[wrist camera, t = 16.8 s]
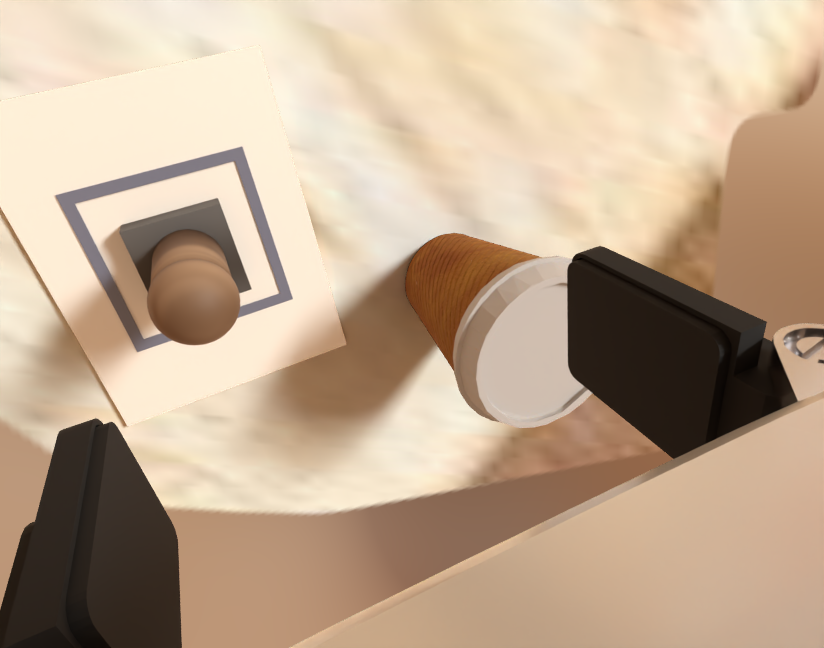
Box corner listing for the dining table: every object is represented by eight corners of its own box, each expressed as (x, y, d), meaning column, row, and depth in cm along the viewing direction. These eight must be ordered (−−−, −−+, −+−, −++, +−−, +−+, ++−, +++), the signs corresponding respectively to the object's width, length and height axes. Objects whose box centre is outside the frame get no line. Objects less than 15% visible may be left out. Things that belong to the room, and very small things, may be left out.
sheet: (-53, 112, 24) (-56, 112, 23) (258, 45, 27) (260, 44, 27) (128, 423, 33) (127, 427, 32) (345, 342, 36) (347, 345, 36)
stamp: (121, 225, 28) (105, 284, 20) (217, 197, 29) (236, 244, 22) (160, 309, 30) (159, 390, 23) (248, 280, 32) (275, 348, 24)
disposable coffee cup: (389, 355, 38) (470, 458, 28) (374, 223, 34) (463, 290, 24) (507, 322, 41) (618, 405, 31) (507, 197, 37) (637, 246, 27)
